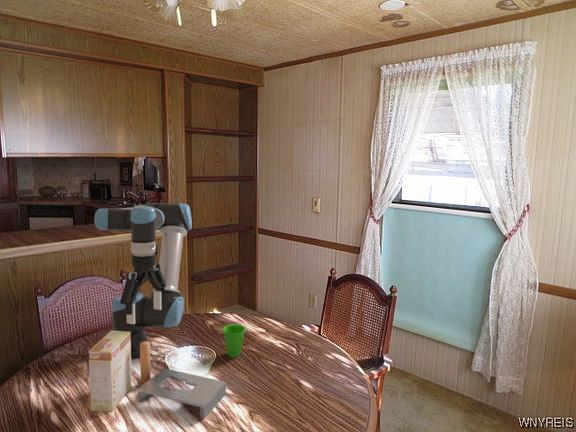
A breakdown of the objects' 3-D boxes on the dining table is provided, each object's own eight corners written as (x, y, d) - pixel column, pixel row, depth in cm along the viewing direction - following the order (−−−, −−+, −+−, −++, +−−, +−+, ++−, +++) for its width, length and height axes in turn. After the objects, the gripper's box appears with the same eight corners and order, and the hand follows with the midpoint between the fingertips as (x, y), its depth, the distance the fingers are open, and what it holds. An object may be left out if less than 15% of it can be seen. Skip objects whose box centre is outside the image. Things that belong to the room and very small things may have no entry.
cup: (247, 350, 166) (247, 324, 165) (242, 361, 157) (243, 334, 156) (225, 348, 167) (225, 323, 166) (219, 359, 158) (220, 332, 157)
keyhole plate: (137, 401, 129) (137, 388, 128) (164, 379, 142) (164, 368, 142) (203, 419, 121) (203, 405, 121) (225, 394, 134) (225, 382, 134)
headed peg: (134, 387, 137) (133, 345, 135) (144, 379, 142) (143, 339, 140) (147, 390, 135) (146, 347, 134) (156, 382, 140) (156, 341, 138)
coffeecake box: (112, 384, 138) (110, 330, 136) (132, 385, 138) (131, 330, 136) (89, 411, 124) (87, 350, 121) (112, 412, 123) (111, 351, 121)
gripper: (126, 263, 120) (128, 332, 123) (175, 247, 143) (176, 305, 146) (106, 261, 122) (108, 328, 125) (157, 245, 146) (158, 302, 148)
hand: (144, 316), depth 136 cm, fingers open, 13 cm apart
